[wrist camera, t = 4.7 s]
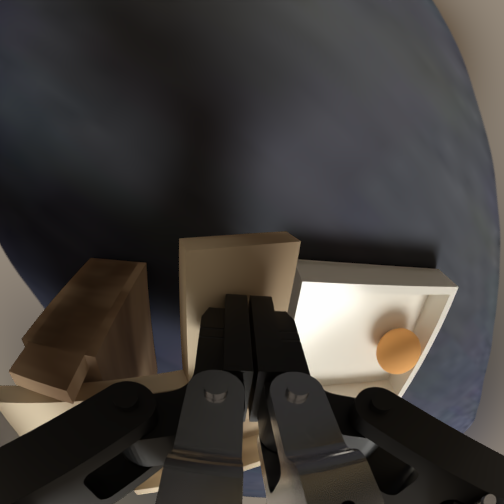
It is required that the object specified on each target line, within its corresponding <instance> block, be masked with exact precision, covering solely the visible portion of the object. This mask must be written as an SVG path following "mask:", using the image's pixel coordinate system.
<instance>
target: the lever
mask: <svg viewBox="0 0 504 504" xmlns="http://www.w3.org/2000/svg"><path fill="white" fill-rule="evenodd" d="M300 243H301V241H300V240H298V239H297V238H295V237H294V236H292V235H291V234H289V233H288V232H286V231H284V232H267V233H251V234H235V235H220V236H206V237H192V238H179V297H180V327H181V347H182V364H183V370H179V371H173V372H167V373H161V374H155V375H148V376H141V377H134V378H126V379H118V380H109V381H99V382H88V383H82V385H81V388H80V390H79V392H78V394H77V396H76V399H75V401H74V403H73V404H71V403H68V402H64V401H61V400H58V399H55V398H52V397H49V396H46V395H43V394H40V393H37V392H34V391H31V390H29V389H26V388H23V387H21V386H0V447H1V446H3V445H5V444H7V443H9V442H11V441H13V440H15V439H16V438H18V437H20V436H22V435H24V434H26V433H28V432H30V431H31V430H33V429H35V428H37V427H39V426H41V425H42V424H44V423H46V422H48V421H50V420H51V419H53V418H55V417H57V416H59V415H60V414H62V413H64V412H66V411H67V410H69V409H71V408H73V407H74V406H76V405H78V404H80V403H81V402H83V401H85V400H86V399H88V398H90V397H92V396H93V395H95V394H97V393H98V392H100V391H102V390H103V389H105V388H107V387H109V386H110V385H112V384H114V383H117V382H122V381H132V382H137V383H140V384H142V385H144V386H146V387H147V388H148V389H149V390H150V391H151V392H152V393H153V394H156V393H163V392H169V391H174V390H177V389H179V388H181V387H183V386H184V385H186V384H187V383H188V382H189V381H190V379H191V378H192V376H193V374H194V369H195V361H196V353H197V345H198V338H199V331H200V324H201V317H202V315H203V314H204V313H205V311H206V310H207V309H208V308H209V307H213V308H225V295H226V294H238V295H247V301H248V303H249V297H250V295H256V296H271V297H272V300H273V305H274V310H275V311H286V312H288V307H289V302H290V297H291V292H292V287H293V281H294V276H295V271H296V266H297V260H298V255H299V249H300ZM258 434H259V427H258V422H249V411H248V408H247V413H246V419H245V422H243V443H242V462H243V471H245V470H248V469H251V468H254V467H257V466H260V465H261V464H260V458H259V453H258V447H257V438H258ZM162 470H163V468H161V469H160V470H159V471H158V472H156V473H155V474H154V475H153V476H151V477H150V478H149V479H147V480H146V481H145V482H143V483H142V484H141V485H139V486H138V487H137V488H135V489H134V491H135V492H136V494H137V495H138V494H146V493H152V492H158V489H159V484H160V480H161V475H162Z"/></svg>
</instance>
